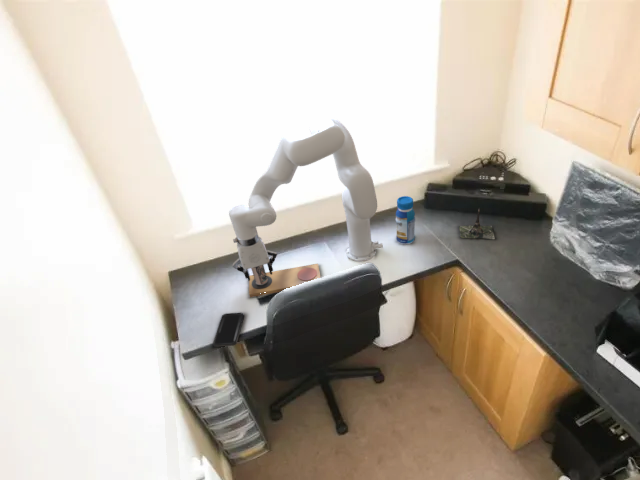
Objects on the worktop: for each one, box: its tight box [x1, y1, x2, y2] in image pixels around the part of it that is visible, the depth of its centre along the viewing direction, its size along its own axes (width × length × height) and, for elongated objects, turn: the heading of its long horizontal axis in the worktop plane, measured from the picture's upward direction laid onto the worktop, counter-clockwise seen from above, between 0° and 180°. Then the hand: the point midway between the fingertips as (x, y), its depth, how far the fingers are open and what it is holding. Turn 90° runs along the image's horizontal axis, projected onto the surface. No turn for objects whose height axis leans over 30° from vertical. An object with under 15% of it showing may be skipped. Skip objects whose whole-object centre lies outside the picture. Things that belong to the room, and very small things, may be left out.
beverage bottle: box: [395, 195, 416, 245], centre depth 178 cm, size 8×8×20 cm
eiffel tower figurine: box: [458, 208, 496, 240], centre depth 181 cm, size 15×10×13 cm
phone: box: [212, 312, 245, 348], centre depth 146 cm, size 8×1×15 cm
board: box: [248, 263, 322, 298], centre depth 165 cm, size 28×12×2 cm, turn 103°
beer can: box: [250, 265, 268, 285], centre depth 159 cm, size 5×5×12 cm
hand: (259, 275), depth 161 cm, fingers open, 8 cm apart
